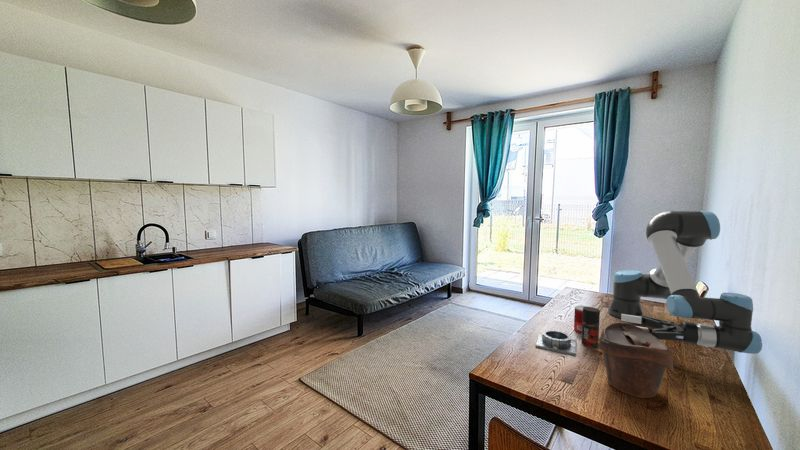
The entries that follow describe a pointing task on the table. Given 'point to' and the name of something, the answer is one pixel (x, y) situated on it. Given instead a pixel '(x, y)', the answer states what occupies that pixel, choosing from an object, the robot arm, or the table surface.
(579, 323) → the canned food
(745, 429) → the table surface
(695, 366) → the table surface
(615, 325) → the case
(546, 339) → the hub socket
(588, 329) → the deodorant
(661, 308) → the table surface
